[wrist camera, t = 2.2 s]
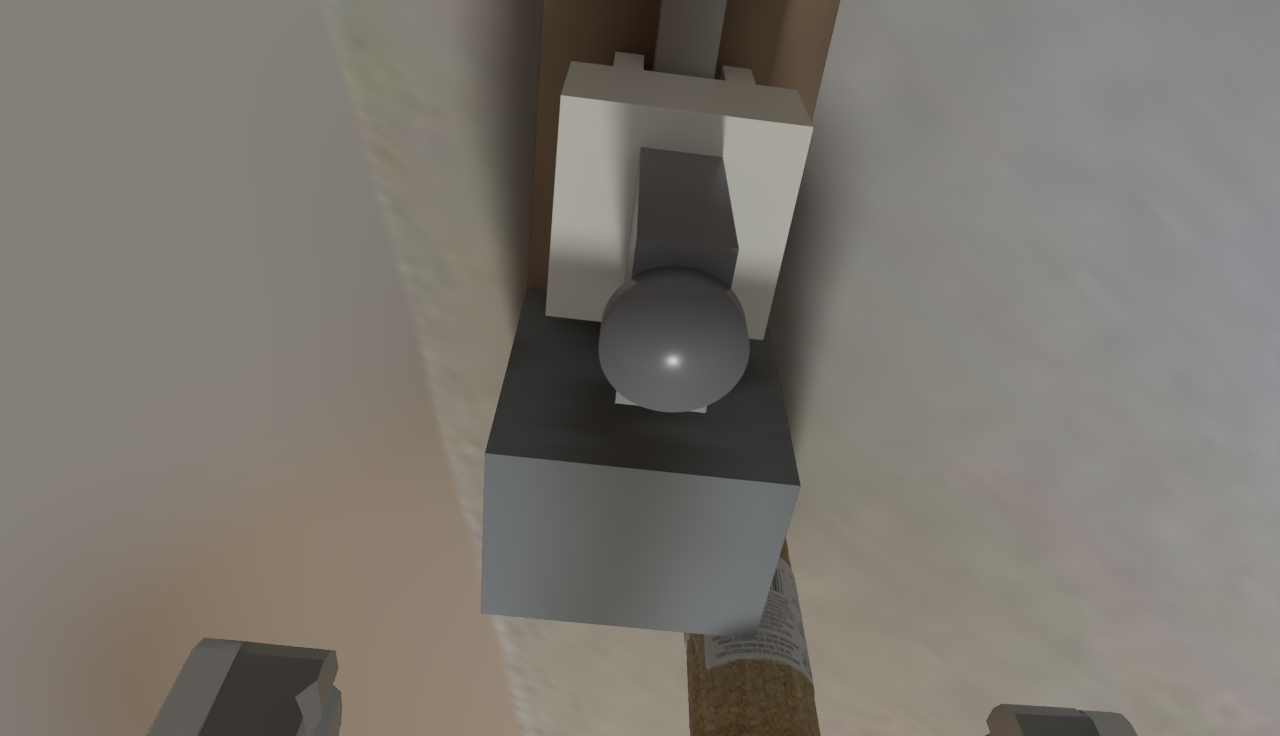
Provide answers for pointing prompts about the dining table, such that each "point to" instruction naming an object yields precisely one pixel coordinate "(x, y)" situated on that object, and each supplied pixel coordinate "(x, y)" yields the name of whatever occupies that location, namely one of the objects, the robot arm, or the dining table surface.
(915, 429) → the dining table surface
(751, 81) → the carriage
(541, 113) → the rail frame
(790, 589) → the sprinkles bottle
